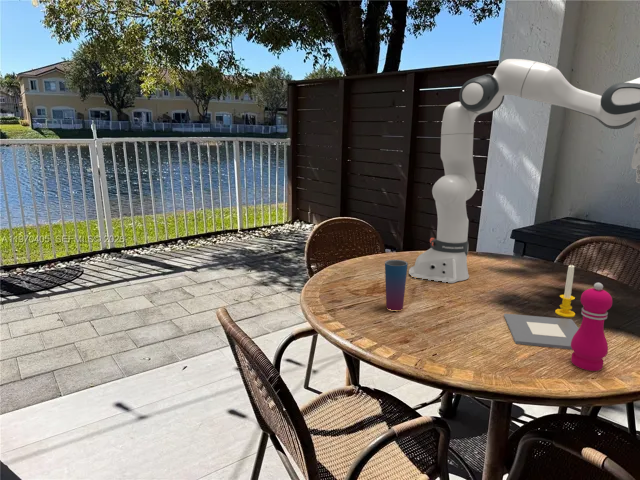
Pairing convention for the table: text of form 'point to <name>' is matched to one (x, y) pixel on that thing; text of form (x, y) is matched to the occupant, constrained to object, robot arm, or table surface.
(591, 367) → the pepper mill
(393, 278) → the cup
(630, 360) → the table surface
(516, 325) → the tile
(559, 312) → the candle
